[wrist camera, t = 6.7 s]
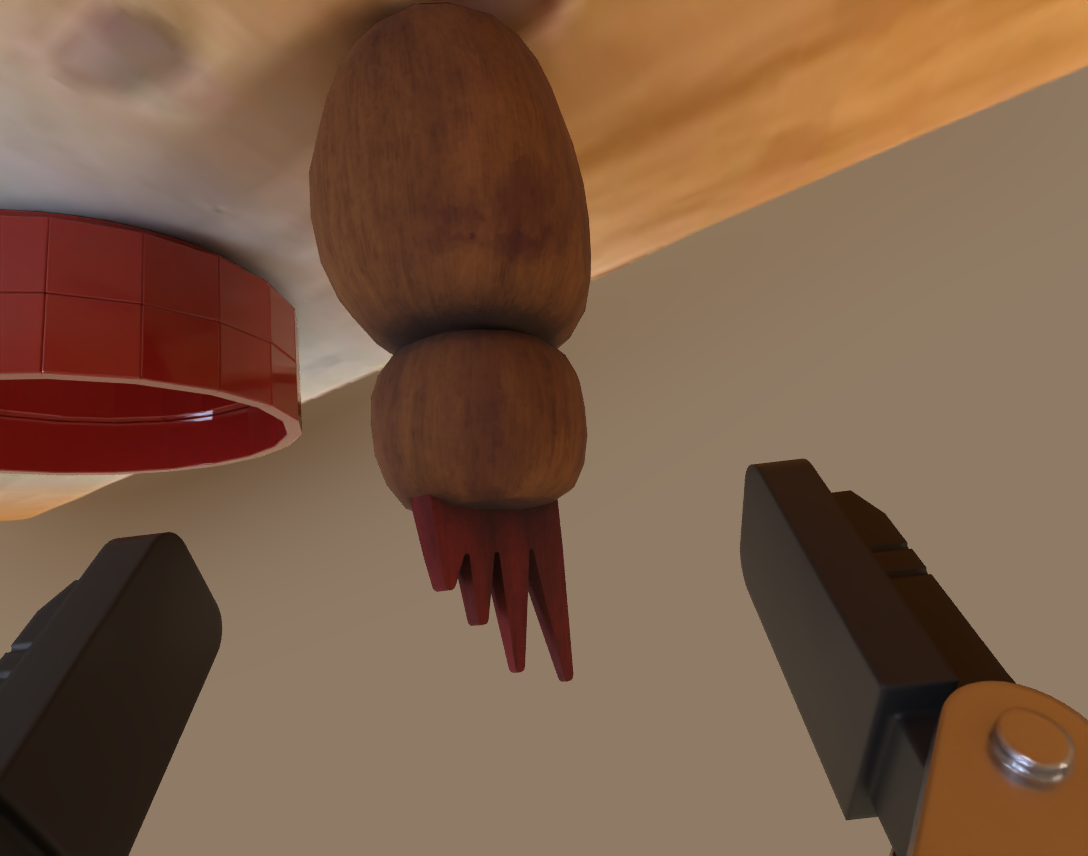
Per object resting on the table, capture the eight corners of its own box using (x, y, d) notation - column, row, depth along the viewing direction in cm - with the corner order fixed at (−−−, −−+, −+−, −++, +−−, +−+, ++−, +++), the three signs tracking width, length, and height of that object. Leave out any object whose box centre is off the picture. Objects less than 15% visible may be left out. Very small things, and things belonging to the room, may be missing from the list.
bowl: (49, 381, 34) (44, 486, 33) (-351, 230, 19) (-387, 413, 18) (343, 345, 34) (349, 450, 33) (171, 166, 19) (170, 346, 18)
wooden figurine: (592, 113, 19) (676, 661, 16) (415, 173, 21) (457, 677, 17) (497, -103, 13) (606, 737, 9) (255, 9, 14) (274, 751, 11)
